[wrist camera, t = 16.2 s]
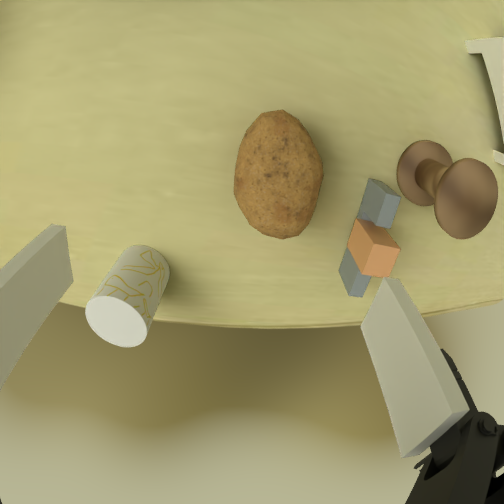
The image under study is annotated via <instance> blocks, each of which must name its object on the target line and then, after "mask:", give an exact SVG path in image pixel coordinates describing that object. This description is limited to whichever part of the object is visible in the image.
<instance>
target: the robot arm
mask: <svg viewBox="0 0 504 504" xmlns="http://www.w3.org/2000/svg"><path fill="white" fill-rule="evenodd" d="M72 283H73V276H72V270H71V263H70V257H69V250H68V242H67V234H66V226H61V225H55V224H51V225H50V226H49V227H47V228H46V229H45V230H44V231H43V232H41V233H40V234H39V235H38V236H37V237H36V238H34V239H33V240H32V241H31V242H30V243H29V244H28V245H26V246H25V247H24V248H23V249H22V250H21V251H20V252H19V253H18V254H16V255H15V256H14V257H13V258H12V259H11V260H10V261H9V262H8V263H7V264H6V265H5V266H4V267H3V268H2V269H1V270H0V390H1V388H2V386H3V385H4V383H5V381H6V379H7V378H8V376H9V374H10V373H11V371H12V369H13V368H14V366H15V364H16V363H17V361H18V360H19V358H20V356H21V355H22V353H23V352H24V350H25V348H26V347H27V345H28V344H29V342H30V341H31V339H32V338H33V336H34V335H35V333H36V332H37V330H38V329H39V328H40V326H41V325H42V323H43V322H44V320H45V319H46V318H47V316H48V315H49V313H50V312H51V310H52V309H53V308H54V306H55V305H56V304H57V302H58V301H59V300H60V298H61V297H62V296H63V294H64V293H65V292H66V290H67V289H68V288H69V287H70V285H71V284H72ZM360 327H361V330H362V333H363V336H364V338H365V341H366V344H367V347H368V350H369V353H370V356H371V359H372V361H373V364H374V367H375V370H376V373H377V376H378V379H379V383H380V386H381V389H382V392H383V395H384V398H385V401H386V405H387V408H388V411H389V415H390V418H391V422H392V425H393V428H394V432H395V436H396V439H397V443H398V446H399V450H400V454H401V458H405V457H410V456H415V455H419V454H421V453H422V452H423V451H424V450H426V449H427V448H428V447H429V446H430V449H431V452H432V453H430V454H429V455H428V456H426V457H425V458H424V459H423V460H421V461H420V462H419V463H417V464H416V465H415V467H414V469H417V468H418V467H420V466H421V465H422V464H424V465H423V467H422V469H421V470H420V474H419V476H418V478H417V481H416V483H415V485H414V487H413V489H412V491H411V493H410V495H409V497H408V499H407V501H406V503H405V504H504V473H503V474H502V475H500V476H499V477H496V471H497V470H499V469H500V468H502V467H503V466H504V425H497V423H496V421H495V419H494V418H493V417H492V416H491V415H490V414H488V413H485V412H478V410H477V408H476V406H475V404H474V402H473V400H472V397H471V395H470V393H469V391H468V389H467V387H466V385H465V383H464V381H463V380H462V377H461V375H460V373H459V372H457V368H456V366H455V364H454V362H453V360H452V358H451V357H450V356H449V355H448V354H447V353H446V352H445V351H444V350H443V349H440V348H439V346H438V344H437V343H436V341H435V339H434V337H433V335H432V334H431V332H430V330H429V328H428V326H427V325H426V323H425V321H424V320H423V318H422V316H421V314H420V313H419V311H418V309H417V308H416V306H415V304H414V303H413V301H412V299H411V298H410V296H409V294H408V293H407V291H406V290H405V288H404V286H403V285H402V283H401V282H400V280H399V279H395V278H388V277H384V278H383V280H382V282H381V285H380V287H379V289H378V291H377V293H376V295H375V298H374V300H373V302H372V304H371V306H370V308H369V310H368V312H367V314H366V316H365V318H364V320H363V322H362V324H361V326H360ZM0 504H2V502H1V499H0Z"/></svg>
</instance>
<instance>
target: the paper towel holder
mask: <svg viewBox="0 0 504 504" xmlns="http://www.w3.org/2000/svg"><path fill="white" fill-rule="evenodd" d="M464 42H465V44H466V47H467V50H468V53H469V54H471V53H482V55H483V58H484V61H485V64H486V68H487V71H488V74H489V78H490V81H491V85H492V89H493V93H494V97H495V101H496V105H497V110H498V114H499V119H500V125H501V130H502V136H503V142H504V37H492V38H482V39H474V40H466V41H464ZM493 155H494V161H495V162H497V163H499V164H502V165H504V154H503V153H500V152H498V151H496V150H493Z"/></svg>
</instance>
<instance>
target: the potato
mask: <svg viewBox="0 0 504 504" xmlns="http://www.w3.org/2000/svg"><path fill="white" fill-rule="evenodd" d="M322 179H323V165H322V161H321V158H320V156H319V154H318V152H317V150H316V148H315V146H314V144H313V142H312V140H311V138H310V136H309V134H308V132H307V131H306V129H305V128H304V127H303V125H302V124H301V123H300V121H299V120H298V119H297V118H295V117H293V116H292V115H290V114H289V113H287V112H285V111H284V110H277V111H271V112H266V113H261V114H260V116H259V117H258V118H257V119H256V120H255V121H254V122H253V124H252V125H251V126H250V127H249V128H248V129H247V131H246V133H245V135H244V138H243V140H242V143H241V145H240V148H239V153H238V157H237V162H236V168H235V177H234V195H235V197H236V200H237V202H238V205H239V207H240V209H241V211H242V212H243V214H244V215H245V217H246V219H247V220H248V222H249V224H250V225H251V226H252V227H254V228H255V229H257V230H258V231H260V232H261V233H262V234H264V235H267V236H271V237H275V238H279V239H286V238H290V237H294V236H299V234H300V233H301V232H302V231H303V230H304V229H305V227H306V226H307V225H308V224H309V222H310V220H311V217H312V215H313V212H314V209H315V207H316V203H317V199H318V194H319V190H320V187H321V183H322Z"/></svg>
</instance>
